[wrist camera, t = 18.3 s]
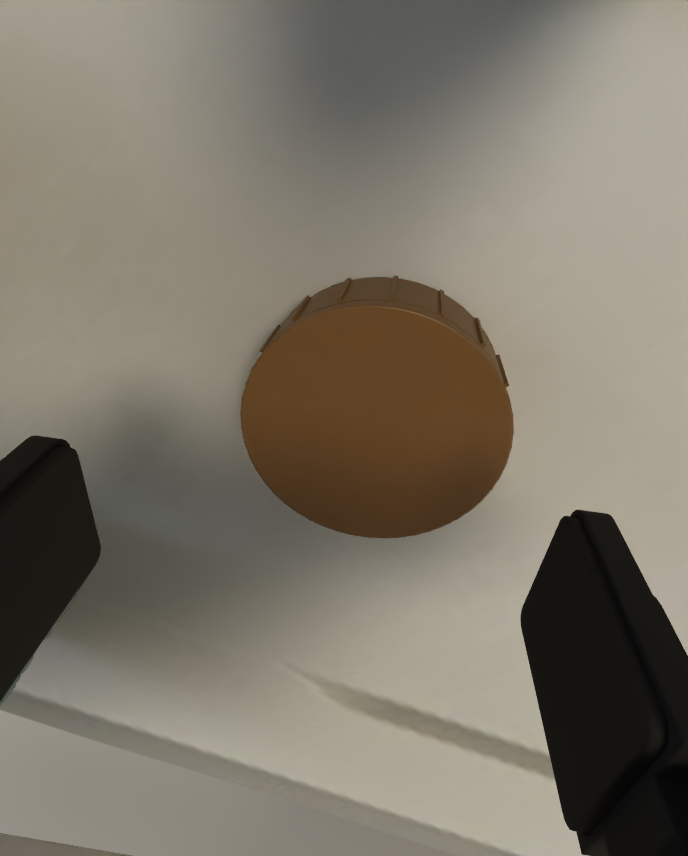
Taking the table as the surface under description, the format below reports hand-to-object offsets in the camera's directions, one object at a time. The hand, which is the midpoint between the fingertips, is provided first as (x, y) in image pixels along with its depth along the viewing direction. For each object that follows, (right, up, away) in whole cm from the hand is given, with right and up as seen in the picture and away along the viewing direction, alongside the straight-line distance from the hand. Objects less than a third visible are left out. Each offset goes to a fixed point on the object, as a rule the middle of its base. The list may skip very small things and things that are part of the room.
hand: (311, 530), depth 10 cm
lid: (+1, +2, +4) cm, 4 cm away
